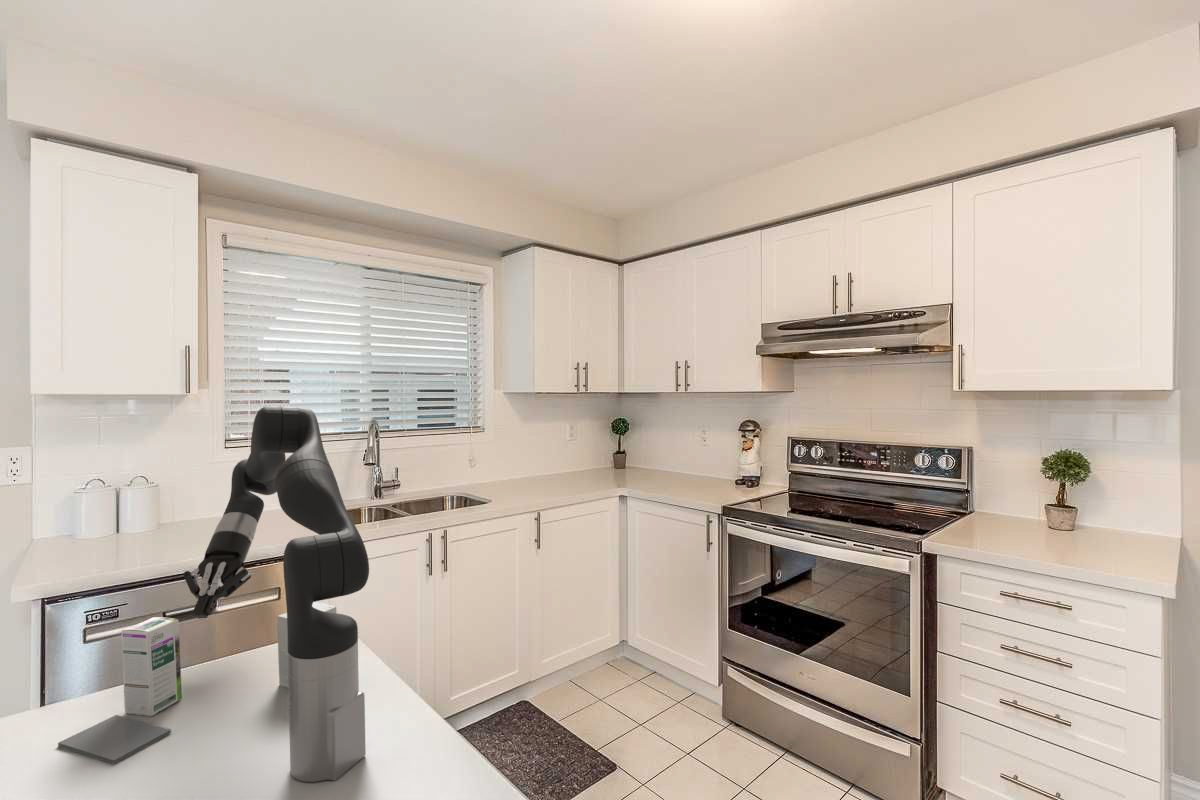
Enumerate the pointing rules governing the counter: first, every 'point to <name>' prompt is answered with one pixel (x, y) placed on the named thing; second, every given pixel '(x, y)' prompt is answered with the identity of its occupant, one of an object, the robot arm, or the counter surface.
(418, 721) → the counter surface
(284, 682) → the small box
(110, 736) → the slate trivet
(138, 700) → the syrup box
